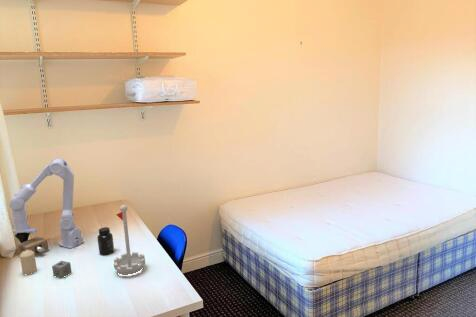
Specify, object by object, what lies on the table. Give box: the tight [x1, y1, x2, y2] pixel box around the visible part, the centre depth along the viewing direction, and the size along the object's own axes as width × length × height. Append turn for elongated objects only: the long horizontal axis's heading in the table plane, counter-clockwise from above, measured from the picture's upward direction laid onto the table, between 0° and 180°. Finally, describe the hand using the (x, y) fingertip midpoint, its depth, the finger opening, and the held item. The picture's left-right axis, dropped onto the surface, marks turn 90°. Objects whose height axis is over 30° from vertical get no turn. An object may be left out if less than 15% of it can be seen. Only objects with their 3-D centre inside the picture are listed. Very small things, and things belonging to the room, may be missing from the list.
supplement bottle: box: [97, 226, 115, 256], centre depth 179 cm, size 7×7×12 cm
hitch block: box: [16, 236, 50, 258], centre depth 181 cm, size 8×10×6 cm
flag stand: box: [113, 204, 146, 275], centre depth 159 cm, size 13×13×30 cm
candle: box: [19, 250, 38, 275], centre depth 163 cm, size 6×6×10 cm
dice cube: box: [51, 260, 72, 279], centre depth 160 cm, size 5×5×5 cm
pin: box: [35, 246, 45, 254], centre depth 180 cm, size 12×5×5 cm, turn 62°
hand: (25, 246), depth 184 cm, fingers closed
